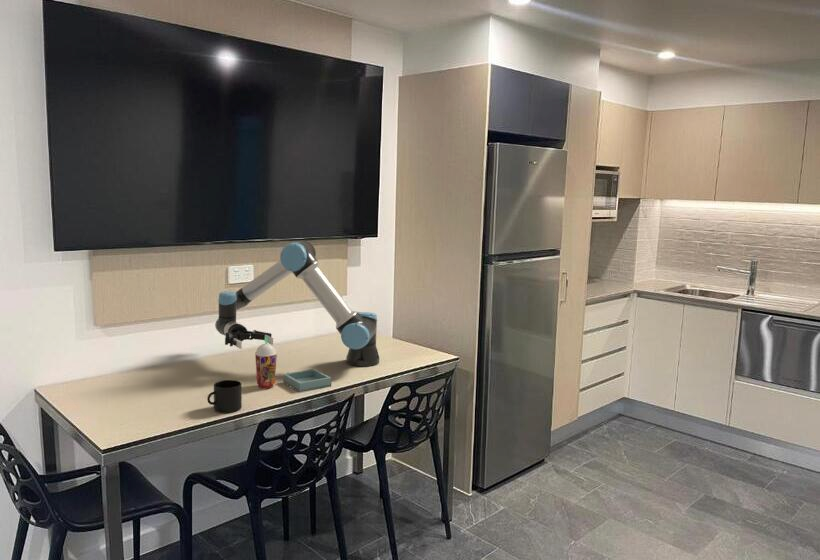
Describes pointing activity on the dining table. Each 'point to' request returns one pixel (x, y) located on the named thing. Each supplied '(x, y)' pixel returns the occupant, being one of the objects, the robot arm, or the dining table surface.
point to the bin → (307, 380)
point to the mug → (227, 396)
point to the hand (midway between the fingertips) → (256, 343)
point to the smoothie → (266, 365)
